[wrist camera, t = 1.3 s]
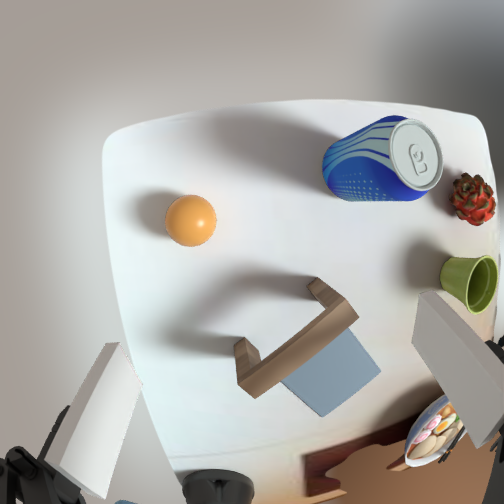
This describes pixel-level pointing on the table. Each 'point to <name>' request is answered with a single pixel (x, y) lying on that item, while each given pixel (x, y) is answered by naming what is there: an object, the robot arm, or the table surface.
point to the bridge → (294, 343)
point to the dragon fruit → (473, 199)
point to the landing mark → (333, 374)
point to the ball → (190, 220)
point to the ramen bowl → (433, 433)
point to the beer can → (384, 162)
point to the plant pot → (471, 281)
